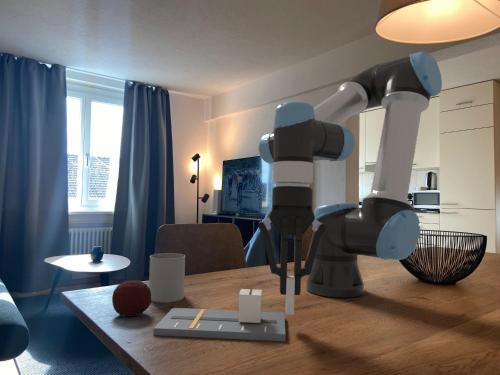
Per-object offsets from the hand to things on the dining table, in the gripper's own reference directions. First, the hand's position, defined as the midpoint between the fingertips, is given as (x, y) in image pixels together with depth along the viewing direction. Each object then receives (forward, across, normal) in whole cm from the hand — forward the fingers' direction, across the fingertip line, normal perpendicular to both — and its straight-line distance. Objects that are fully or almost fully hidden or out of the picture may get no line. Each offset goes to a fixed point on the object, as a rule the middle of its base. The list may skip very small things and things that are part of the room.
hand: (289, 312), depth 68 cm
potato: (+4, +32, -4) cm, 32 cm away
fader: (+2, +7, 0) cm, 7 cm away
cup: (+4, +29, -18) cm, 34 cm away
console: (+3, +12, 0) cm, 13 cm away
